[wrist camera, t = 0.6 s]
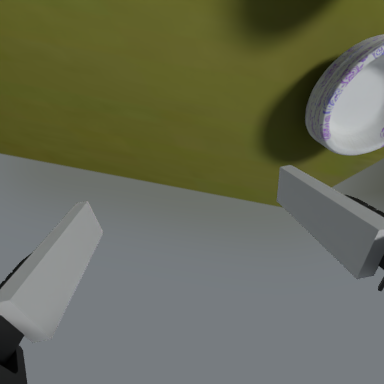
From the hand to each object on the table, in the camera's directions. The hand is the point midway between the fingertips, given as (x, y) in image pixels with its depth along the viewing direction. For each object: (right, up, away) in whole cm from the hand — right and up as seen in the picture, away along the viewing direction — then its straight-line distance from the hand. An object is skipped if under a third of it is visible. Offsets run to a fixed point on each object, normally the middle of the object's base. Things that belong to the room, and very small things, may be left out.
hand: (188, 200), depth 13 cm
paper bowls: (+26, +17, +18) cm, 36 cm away
